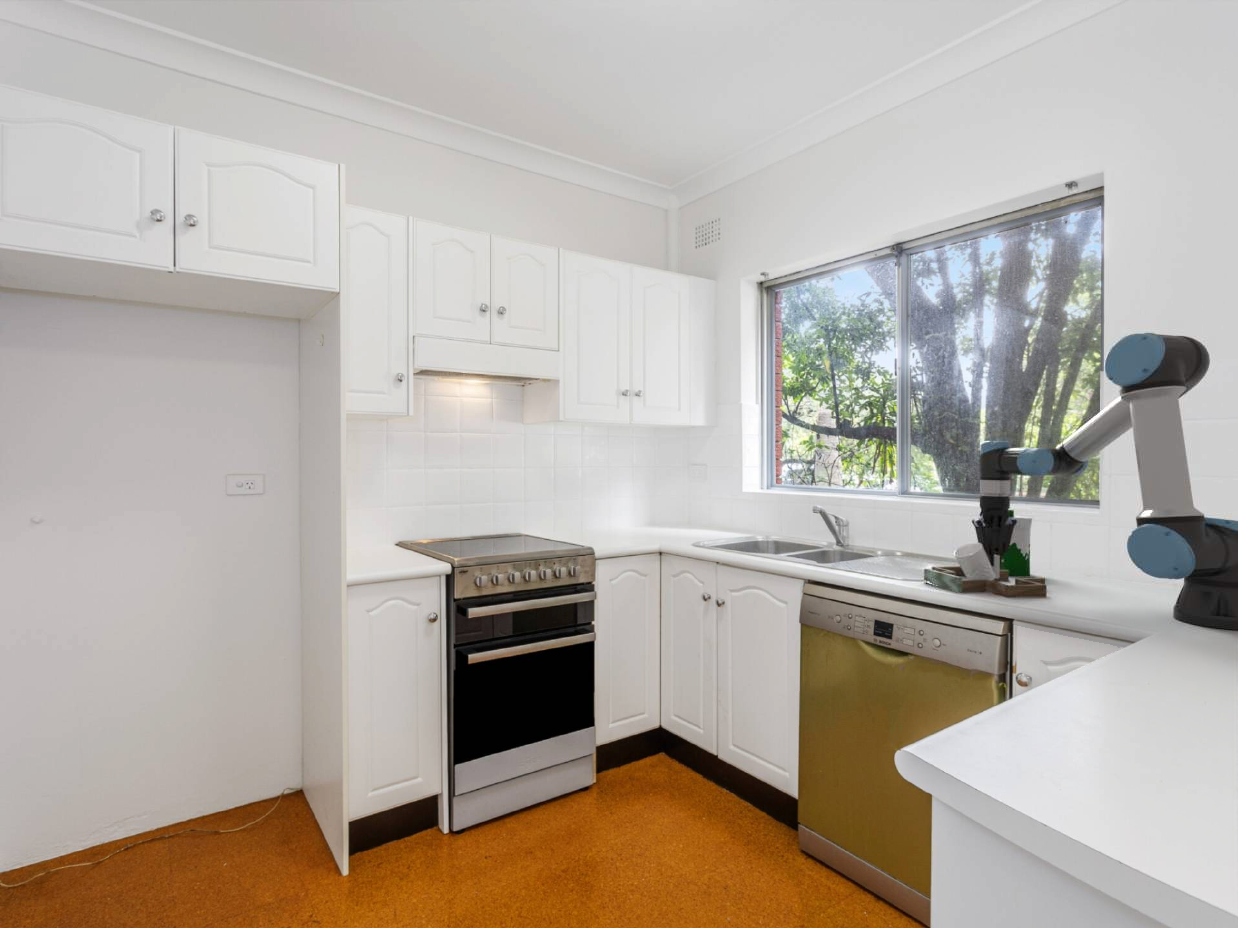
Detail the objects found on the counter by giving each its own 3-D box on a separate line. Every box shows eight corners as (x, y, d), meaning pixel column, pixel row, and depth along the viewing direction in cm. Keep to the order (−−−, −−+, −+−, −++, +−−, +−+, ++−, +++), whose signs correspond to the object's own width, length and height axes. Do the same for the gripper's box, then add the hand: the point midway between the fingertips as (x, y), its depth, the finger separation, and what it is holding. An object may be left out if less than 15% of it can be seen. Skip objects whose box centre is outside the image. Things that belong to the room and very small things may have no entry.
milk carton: (990, 571, 215) (991, 509, 215) (1019, 571, 215) (1019, 509, 215) (1005, 576, 207) (1006, 511, 206) (1035, 576, 206) (1036, 511, 206)
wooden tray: (1070, 595, 178) (1070, 580, 178) (979, 598, 173) (979, 583, 173) (985, 574, 208) (986, 562, 208) (906, 577, 203) (907, 564, 203)
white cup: (988, 569, 195) (973, 539, 194) (1003, 577, 187) (987, 546, 186) (963, 582, 195) (948, 552, 194) (976, 590, 188) (961, 559, 187)
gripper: (1004, 493, 196) (1004, 574, 197) (965, 494, 194) (964, 575, 194) (1024, 495, 189) (1023, 579, 189) (983, 496, 186) (983, 580, 187)
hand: (993, 577), depth 192 cm, fingers closed
